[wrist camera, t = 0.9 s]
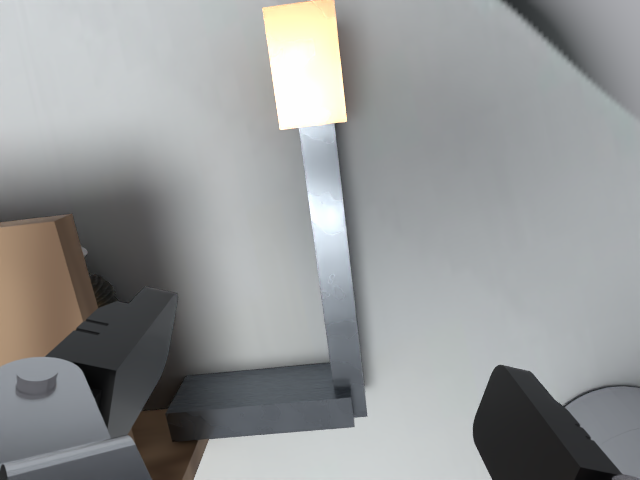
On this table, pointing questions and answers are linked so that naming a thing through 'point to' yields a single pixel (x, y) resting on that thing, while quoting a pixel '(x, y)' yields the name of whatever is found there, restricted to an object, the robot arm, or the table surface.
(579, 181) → the table surface
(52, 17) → the table surface
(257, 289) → the table surface
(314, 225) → the rake
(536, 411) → the robot arm
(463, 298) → the table surface
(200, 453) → the shelf
